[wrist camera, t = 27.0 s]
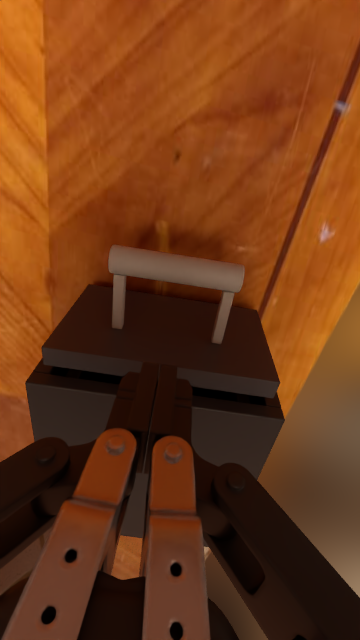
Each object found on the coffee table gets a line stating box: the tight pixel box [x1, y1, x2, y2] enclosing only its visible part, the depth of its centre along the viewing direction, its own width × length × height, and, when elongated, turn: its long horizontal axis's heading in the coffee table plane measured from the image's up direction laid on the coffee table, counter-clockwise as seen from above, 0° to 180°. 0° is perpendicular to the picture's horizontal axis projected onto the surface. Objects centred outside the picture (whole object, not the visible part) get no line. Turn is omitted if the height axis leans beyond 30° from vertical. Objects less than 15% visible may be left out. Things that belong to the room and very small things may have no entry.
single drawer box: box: [25, 358, 285, 547], centre depth 24 cm, size 15×14×10 cm
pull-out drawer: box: [42, 245, 280, 404], centre depth 22 cm, size 19×13×8 cm
